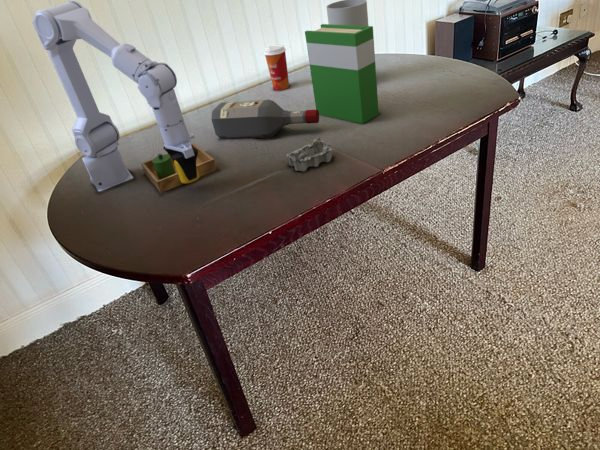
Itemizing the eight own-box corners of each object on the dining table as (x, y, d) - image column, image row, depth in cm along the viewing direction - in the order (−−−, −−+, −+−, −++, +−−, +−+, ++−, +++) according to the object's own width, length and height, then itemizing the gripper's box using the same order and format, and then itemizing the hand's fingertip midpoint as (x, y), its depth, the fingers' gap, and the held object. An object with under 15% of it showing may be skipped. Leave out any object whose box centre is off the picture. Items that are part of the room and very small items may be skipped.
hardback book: (316, 114, 141) (304, 31, 128) (332, 105, 145) (322, 24, 131) (362, 123, 130) (354, 34, 116) (378, 113, 134) (372, 26, 120)
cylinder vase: (330, 82, 163) (320, 5, 149) (363, 73, 165) (356, -4, 151) (343, 92, 153) (334, 10, 139) (378, 82, 155) (373, 1, 141)
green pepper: (166, 182, 119) (157, 160, 115) (155, 178, 121) (146, 157, 118) (179, 173, 121) (172, 151, 118) (169, 170, 124) (161, 149, 120)
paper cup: (267, 88, 168) (259, 48, 160) (286, 82, 170) (280, 42, 163) (275, 93, 162) (268, 52, 154) (295, 87, 164) (288, 46, 156)
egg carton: (323, 150, 121) (321, 135, 118) (336, 160, 115) (334, 145, 112) (285, 162, 118) (283, 148, 116) (297, 174, 112) (294, 159, 110)
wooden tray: (161, 194, 115) (156, 182, 113) (145, 175, 125) (140, 163, 123) (217, 171, 120) (214, 159, 118) (197, 154, 131) (193, 142, 129)
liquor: (228, 128, 143) (323, 124, 134) (217, 142, 136) (316, 138, 127) (221, 100, 138) (319, 93, 129) (208, 112, 131) (311, 106, 122)
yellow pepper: (184, 185, 109) (176, 161, 106) (178, 178, 113) (169, 155, 109) (202, 178, 111) (194, 154, 107) (195, 171, 114) (187, 148, 111)
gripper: (199, 124, 99) (215, 178, 107) (176, 108, 110) (193, 159, 118) (168, 135, 97) (187, 190, 105) (148, 118, 108) (167, 169, 115)
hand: (188, 174), depth 111 cm, fingers closed on yellow pepper, 4 cm apart
